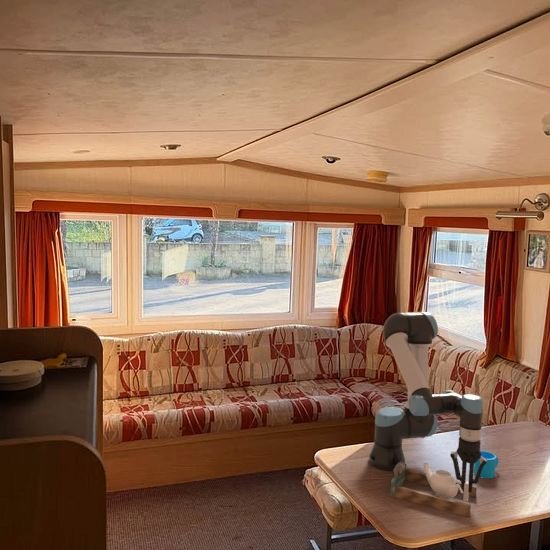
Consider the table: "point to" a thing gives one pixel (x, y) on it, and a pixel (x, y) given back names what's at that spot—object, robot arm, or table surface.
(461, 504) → the bay
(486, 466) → the mug
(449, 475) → the teapot
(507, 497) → the table surface
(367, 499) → the table surface
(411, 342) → the robot arm
